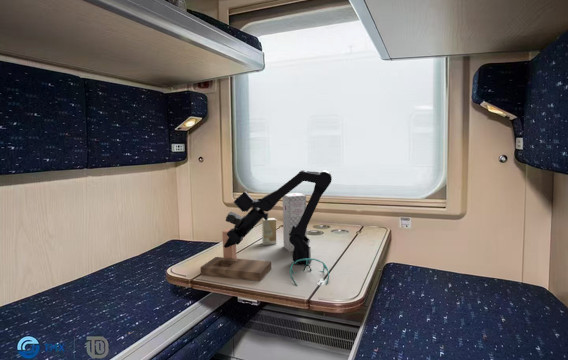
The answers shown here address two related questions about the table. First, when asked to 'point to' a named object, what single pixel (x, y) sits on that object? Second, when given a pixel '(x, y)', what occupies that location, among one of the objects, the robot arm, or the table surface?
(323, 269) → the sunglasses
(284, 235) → the box
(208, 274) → the wooden peg hole board
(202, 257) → the table surface
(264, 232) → the skincare box
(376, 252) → the table surface
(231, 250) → the terracotta peg block
